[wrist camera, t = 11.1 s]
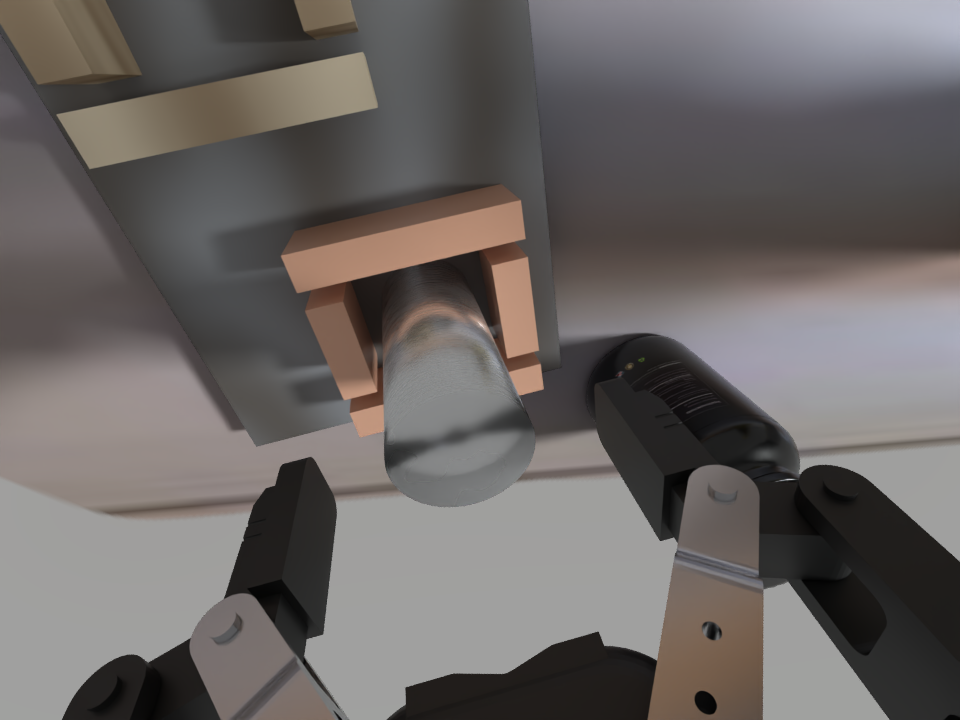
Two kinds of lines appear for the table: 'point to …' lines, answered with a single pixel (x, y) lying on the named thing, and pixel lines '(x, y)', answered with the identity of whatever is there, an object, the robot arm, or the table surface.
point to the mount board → (287, 156)
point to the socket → (403, 243)
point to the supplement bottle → (704, 409)
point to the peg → (447, 393)
